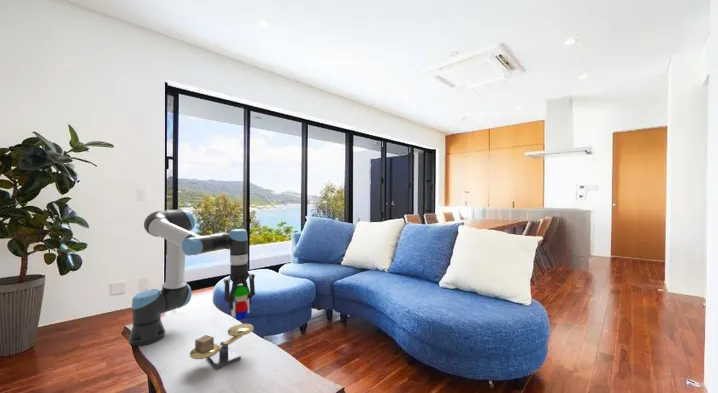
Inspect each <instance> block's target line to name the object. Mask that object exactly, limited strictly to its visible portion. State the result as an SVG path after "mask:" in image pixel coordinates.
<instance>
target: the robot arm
mask: <svg viewBox="0 0 718 393" xmlns="http://www.w3.org/2000/svg"><path fill="white" fill-rule="evenodd" d="M195 220H196V219H195V217H194V215H193V213H192V212H191V211H189V210H188V209H169V210H167V209H166V210H158V211H154V212H152V213H150V214H148V216H147V217H146V218H145V220H144V222H143V227H144V230H145V232H146V233H147V234H148V235H151V236H152V237H157V238H159V237H160V238H162V239H164V240H166V262H165V266H166V267H165V282H164V283H163V284H162V285H161V290H160V289H158V288H152V289H146V290H144V291H141V292H138V293H137V294H136V295H135V296H133V297H132V301H131V311H132V312H131V313H132V314H131V315H132V328H131V331H130V334H129V337H128V344H129V345H130V346H133V347H135V346H136V347H138V346H139V345H141V346H145V345H144V344H146V345H150V344H153V343H157V342H158V341H160V340H162V339H163V338H164V337H165V336H166V329H165V327H164V325H163V322H162V320H161V319H162V318H161V316H162V315H161V314H165V313H167V312H171V311H174V310H177V309H181V308H182V307H185V306H186V305H188V304H189V302H190V301H191V300H192V295H193V294H192V292H193V291H192V288H191V286H190V285H189V284H188V282H187V281H186V280H185V271H186V270H185V268H186V256H197V255H200V254H206V253H212V252H216V251H220V250H228V251H229V258H230V259H229V260H230V261H229V262H230V270H229V271H230V276H229V277H228V278H224V279H223V282H224V296H223V297H224V302H226V303H228V308H229V310H231V311H230V313H231V317H233V318H236V313H235V310H236V301H235V300H234V296H233V295H234V294H235V291H236V289H237V287H238V285H244V286H245V287H246V288H247V290H248V291H249V294H247V298H246V299H245V300H244V301H245V302H246V304H247V308H248V311H247V314H249V313H250V305H251V304H252V299H253V296H255V295H256V289H255V288H256V287H255V277H256V276H255V275H256V274H254V273H249V263H248V261H249V254H248V253H249V252H248V251H249V249H248V248H249V247H248V241H249V240H248V239H249V238H248V232H247V229H245V228H238V229H237V228H235V229H231V230H229V232H223V231H220V232H215V233H213V234H206V235H199V234H197V233H194V232H192V231H193V230H194V228H195V226H196V225H195V224H196V221H195ZM247 280H249V284H248V281H247ZM231 282H232V284H231V286H230V283H231ZM248 285H249V286H248ZM230 287H231V290H230ZM149 343H150V344H149ZM139 347H140V346H139Z"/></svg>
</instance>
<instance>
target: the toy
mask: <svg viewBox="0 0 718 393" xmlns="http://www.w3.org/2000/svg"><path fill="white" fill-rule="evenodd" d="M249 291H250V290H249ZM249 291H248V290H247V288H246V287H245V286H244V285H243V284H239V285H238V287H237V289H236V291H235V294H234V295H233V296H234V300H233V301H234V302H236V304H235V318H236V321H241V320H245V319H247V315H248V313H247V311H248V308H247V304H246V302H245V299H246V298H247V294H249Z"/></svg>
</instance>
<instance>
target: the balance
mask: <svg viewBox="0 0 718 393" xmlns="http://www.w3.org/2000/svg"><path fill="white" fill-rule="evenodd" d="M254 328H255V327H254V325H253V324H251V323H240V324H236V325H233V326H231V327H229V328H228V330H227V335H229V336H230V338H229V339H227V340H225V341H221V342H220V344H219V345H218V344H216V343H214V349H213V350H211V351H209V352H207V353H205V354H201V353H198V352H195V348H193V349H192V350H191V351H190V352H189V357H190V358H191V359H192V360H193V359H194V360H205V359H206V360H208V361H209V362H210V363H211V364H212V365H213V366H214V368H215V369H216V370H219V369H220V368H223V367H225V366H228V365H231V364H233V363H237V362H239V361H241V355H240V354H239V353H238V352H237V351H235V349H234V348H232V347H231V346H229V345H231V344H233V343H234V342H236V341H237V340H240V339H241V338H242V337H243V336H247V335H248V334H251V333H252V332H253V331H254Z"/></svg>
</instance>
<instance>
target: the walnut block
mask: <svg viewBox="0 0 718 393" xmlns="http://www.w3.org/2000/svg"><path fill="white" fill-rule="evenodd" d="M214 337H215V336H211V335H207V334H205V335H203V336H201V337H198V338H196V339H195V340H194V347H195V352H198V353H201V354H205V353H207V352H209V351H211V350H213V349H214V344H215V342H214V341H215V340H214V339H215V338H214Z"/></svg>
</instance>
